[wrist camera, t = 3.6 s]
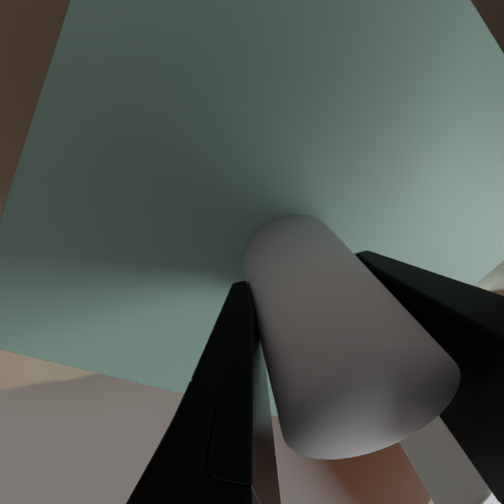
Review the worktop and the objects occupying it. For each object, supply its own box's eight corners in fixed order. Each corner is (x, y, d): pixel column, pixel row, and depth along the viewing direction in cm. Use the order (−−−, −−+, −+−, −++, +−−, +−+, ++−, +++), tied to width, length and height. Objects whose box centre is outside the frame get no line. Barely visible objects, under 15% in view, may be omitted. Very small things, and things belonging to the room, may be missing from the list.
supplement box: (358, 375, 30) (447, 536, 19) (373, 325, 26) (494, 491, 15) (420, 365, 31) (537, 513, 20) (443, 316, 27) (603, 466, 16)
